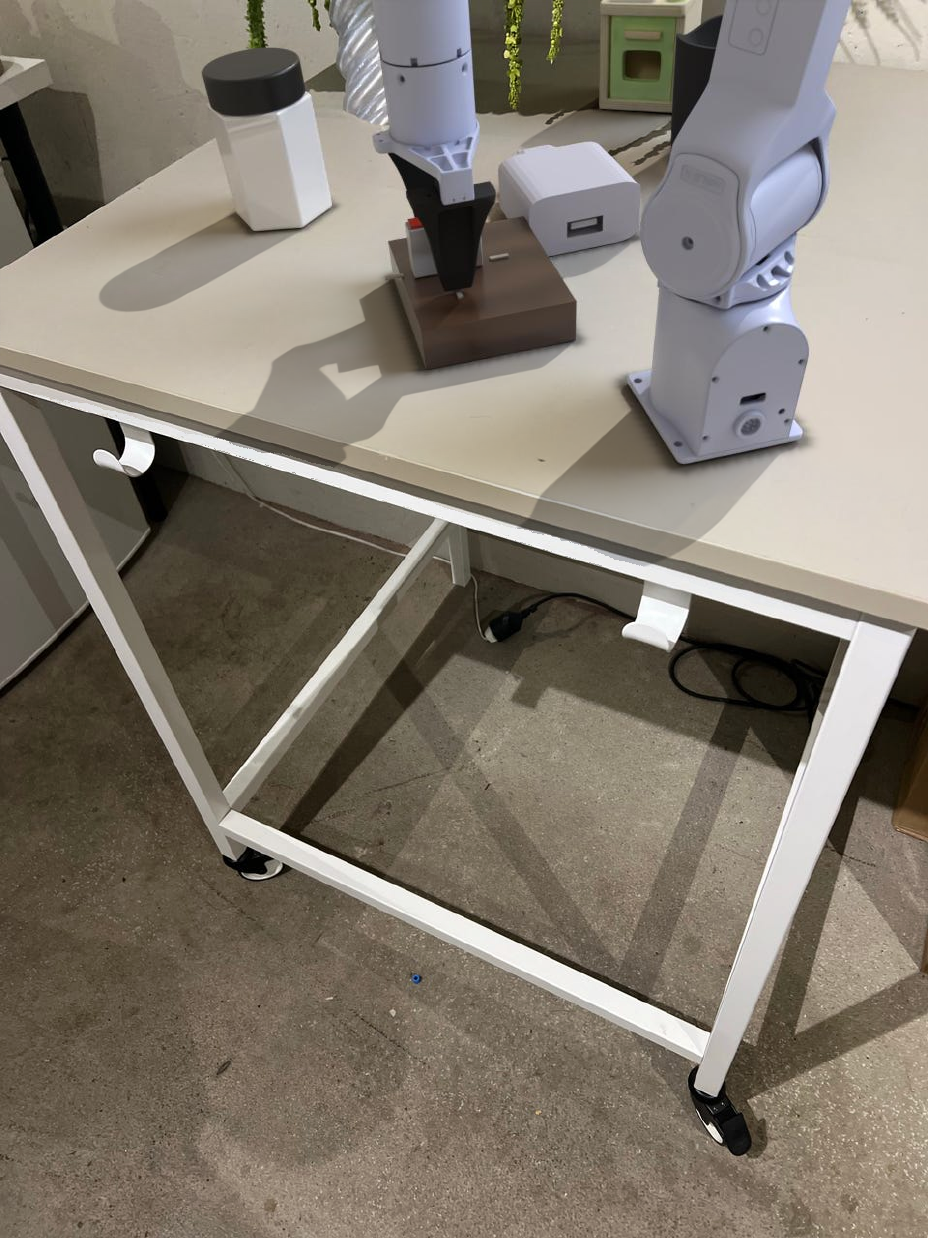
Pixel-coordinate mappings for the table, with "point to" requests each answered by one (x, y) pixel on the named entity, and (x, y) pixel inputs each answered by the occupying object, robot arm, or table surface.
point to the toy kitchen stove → (641, 51)
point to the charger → (570, 196)
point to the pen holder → (692, 70)
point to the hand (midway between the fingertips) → (446, 262)
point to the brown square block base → (488, 300)
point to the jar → (267, 137)
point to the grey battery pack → (424, 250)
